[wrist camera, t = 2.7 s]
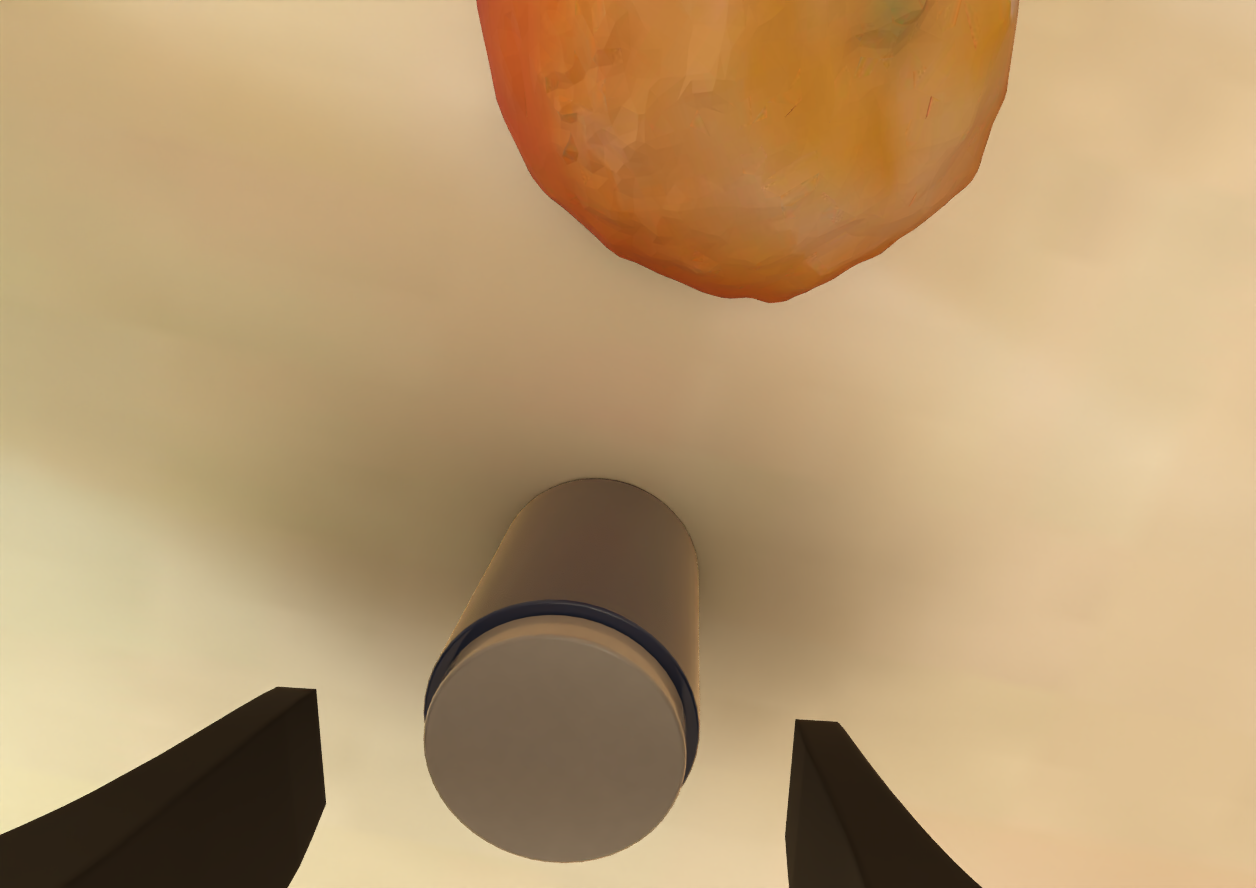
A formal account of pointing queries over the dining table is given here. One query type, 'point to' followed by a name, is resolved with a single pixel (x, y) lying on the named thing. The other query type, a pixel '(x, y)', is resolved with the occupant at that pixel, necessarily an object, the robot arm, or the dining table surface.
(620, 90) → the fruit
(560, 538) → the salt shaker
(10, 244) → the dining table surface
